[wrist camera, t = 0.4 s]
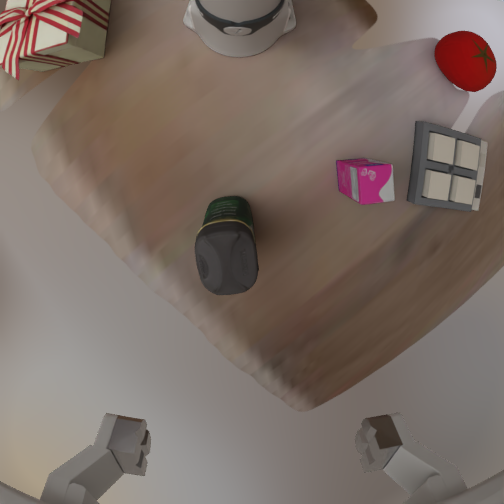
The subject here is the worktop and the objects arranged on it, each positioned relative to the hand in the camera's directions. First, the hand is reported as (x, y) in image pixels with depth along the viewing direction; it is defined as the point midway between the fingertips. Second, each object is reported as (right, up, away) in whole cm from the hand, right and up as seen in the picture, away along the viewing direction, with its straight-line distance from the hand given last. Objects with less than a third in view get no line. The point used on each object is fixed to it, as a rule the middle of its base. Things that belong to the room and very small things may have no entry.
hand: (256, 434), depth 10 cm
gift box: (-32, +46, +30) cm, 64 cm away
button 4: (+34, +26, +39) cm, 58 cm away
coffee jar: (-4, +12, +45) cm, 47 cm away
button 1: (+41, +19, +42) cm, 61 cm away
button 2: (+41, +26, +39) cm, 62 cm away
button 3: (+34, +20, +41) cm, 57 cm away
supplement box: (+17, +20, +43) cm, 50 cm away
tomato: (+39, +44, +34) cm, 68 cm away
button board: (+40, +23, +42) cm, 63 cm away
